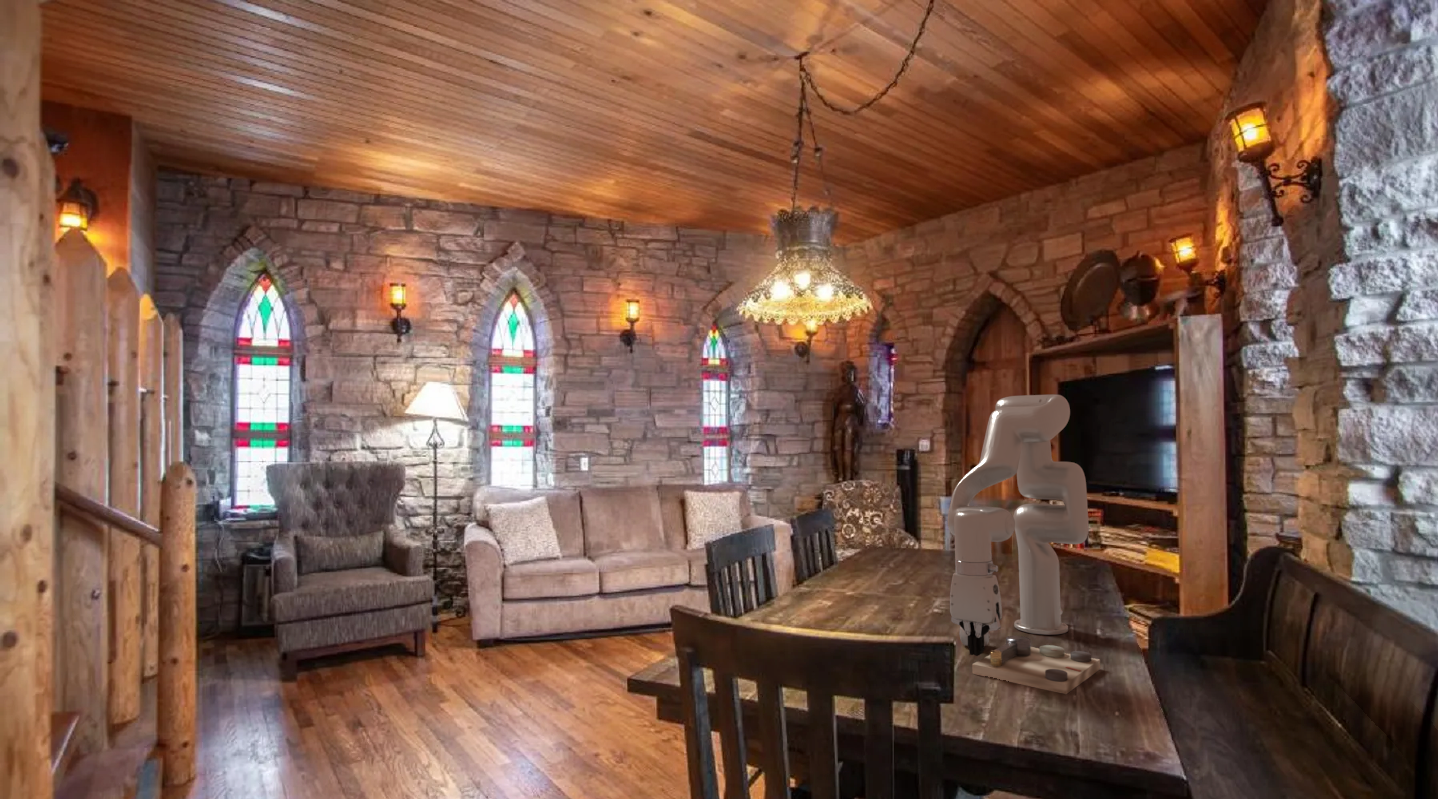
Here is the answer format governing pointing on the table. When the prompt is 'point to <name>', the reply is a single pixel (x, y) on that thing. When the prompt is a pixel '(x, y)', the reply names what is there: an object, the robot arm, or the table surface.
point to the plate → (1043, 668)
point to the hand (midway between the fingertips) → (976, 653)
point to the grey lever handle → (1010, 650)
